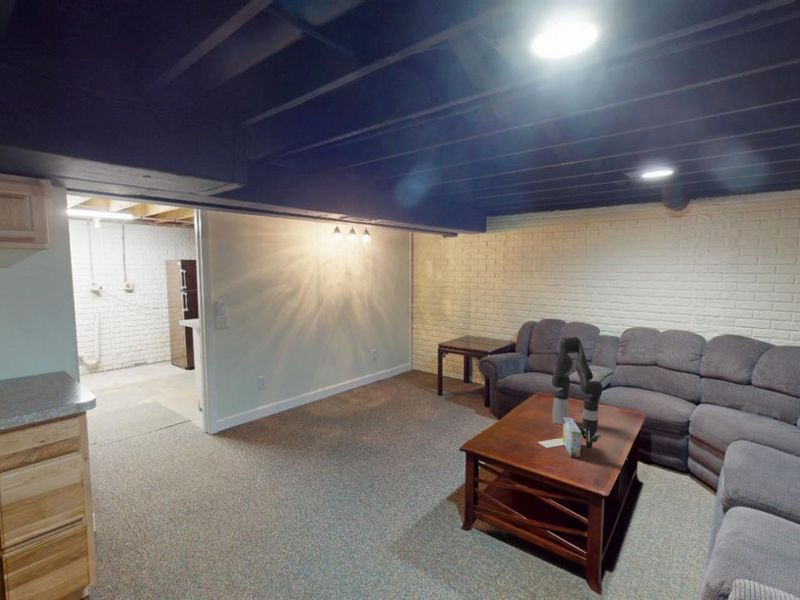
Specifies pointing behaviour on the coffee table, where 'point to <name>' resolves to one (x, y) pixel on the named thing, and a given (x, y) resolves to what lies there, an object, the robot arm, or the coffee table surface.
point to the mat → (552, 443)
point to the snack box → (571, 437)
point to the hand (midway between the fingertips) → (589, 448)
